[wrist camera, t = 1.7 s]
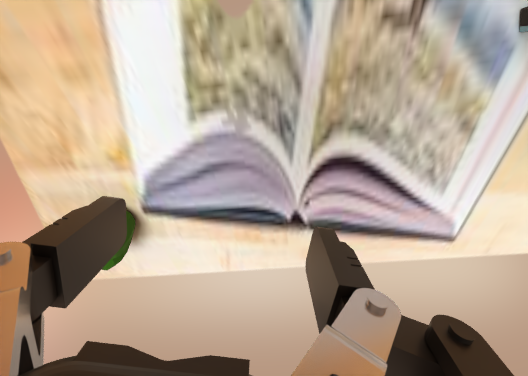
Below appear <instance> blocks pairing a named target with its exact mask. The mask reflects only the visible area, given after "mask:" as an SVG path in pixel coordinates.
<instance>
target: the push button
mask: <svg viewBox="0 0 528 376" xmlns="http://www.w3.org/2000/svg"><path fill="white" fill-rule="evenodd" d="M524 31H528V7H525V8H523V9H521V20H520V32H524Z"/></svg>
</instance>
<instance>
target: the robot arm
mask: <svg viewBox="0 0 528 376" xmlns="http://www.w3.org/2000/svg"><path fill="white" fill-rule="evenodd" d="M126 236H127V220H126V203H125V200H124V199H121V198H114V197H107V196H102V197H100V198H99V199H97V200H96V201H94V202H93V203H91V204H90V205H88V206H85V207H82V208H79V209H76V210H73V211H71V212H70V213H68V214H66V215H65V216H63V217H62V219H59V220H57V221H55V222H54V223H53V225H52V224H51V225H49V226H47V227H46V228H44V229H43V230H41V231H39V232H38V233H36V234H35V235H33V236H31V237H30V238H28V239H27V240H25V241H23V242H22V243H21V242H4V243H0V376H252V375H249V361H250V360H246V359H237V358H228V357H220V356H211V355H210V356H203V357H195V358H188V359H180V360H173V361H164V360H160V359H158V358H156V357H153V356H151V355H149V354H146V353H144V352H141V351H139V350H137V349H134V348H132V347H129V346H125V345H116V344H108V343H99V342H90V341H87V342H86V343H85V345H84V346H83V348H82V349H81V350H80V352H79V353H78V355H77V356H72V357H68V358H63V359H59V360H56V361H53V362H50V363H47V364H44V365H43V356H44V355H43V354H44V316H43V311H45V310H46V308H48V307H49V306H51V307H59V308H66V307H67V306H68V305H69V304H70V303H71V302H72V301H73V300H74V299H75V298H76V296H77V295H78V294H79V293H80V292H81V291H82V290H83V289H84V288H85V287H86V286H87V284H88V283H89V282H90V281H91V280H92V279H93V278H94V277H95V276H96V275H97V274H98V272H99V271H100V270H101V269H102V268H103V267H104V266H105V265H106V264H107V263H108V262H109V260H110V259H111V258H112V257H113V256H114V255H115V254H116V253H117V252H118V251H119V250H120V248H121V247H122V246H123V244H124V242H125V240H126ZM361 266H362V265H361V263H360V261H359V260H358V258H357V256H356V254H355V252H354V250H353V249H352V248H350V247H349V246H348V245H347V244H346V243H345V242H340V241H339V239H338V237H337V235H336V233H335V231H334V229H329V228H322V227H315V228H314V231H313V234H312V238H311V242H310V246H309V250H308V254H307V258H306V274H307V278H308V283H309V288H310V292H311V297H312V302H313V306H314V311H315V315H316V320H317V324H318V328H319V334H320V335H319V336H318V337H317V339H316V340H315V342H314V343H313V345H312V346H311V348H310V349H309V350H308V352H307V353H306V355H305V356H304V358H303V359H302V361H301V362H300V364H299V365H298V366H297V368H296V369H295V371H294V372H293V374H292V375H291V376H514V375H513V374H512V373H511V372H510V370H509V369H508V368H507V367H506V365H505V364H504V363H503V362H502V360H501V359H500V358H499V357H498V355H497V354H496V353H495V352H494V351H493V350H492V348H491V347H490V346H489V345H488V343H487V342H486V341H485V340H484V339H483V337H482V336H481V335H480V334H479V333H478V332H476V331H475V330H474V329H473V328H471V327H470V326H468V325H467V324H465V323H464V322H462V321H460V320H458V319H455V318H453V317H450V316H446V315H436V316H434V317H433V318H432V320H431V322H430V324H429V325H426V324H424V323H421V322H418V321H416V320H413V319H410V318H407V317H405V316H402V315H401V312H400V309H399V308H398V306H397V305H396V304H395V302H394V301H393V300H391V299H390V298H389V297H388V296H386V295H385V294H383V293H381V292H379V291H376V290H375V289H374V287H373V286H372V284H371V282H370V280H369V278H368V276H367V274H366V272H365V271H364V269H363V267H361Z"/></svg>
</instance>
